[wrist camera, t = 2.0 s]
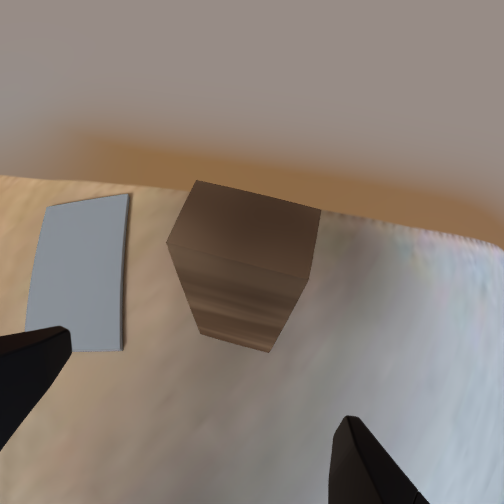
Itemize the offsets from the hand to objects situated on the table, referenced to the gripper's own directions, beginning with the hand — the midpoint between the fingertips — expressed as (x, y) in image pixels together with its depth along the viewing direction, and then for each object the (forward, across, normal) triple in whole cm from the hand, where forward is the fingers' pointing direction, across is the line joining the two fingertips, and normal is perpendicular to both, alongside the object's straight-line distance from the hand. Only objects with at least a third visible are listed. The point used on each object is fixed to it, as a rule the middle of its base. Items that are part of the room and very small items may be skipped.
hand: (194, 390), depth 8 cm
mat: (+13, +14, +5) cm, 20 cm away
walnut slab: (+13, 0, +5) cm, 14 cm away
